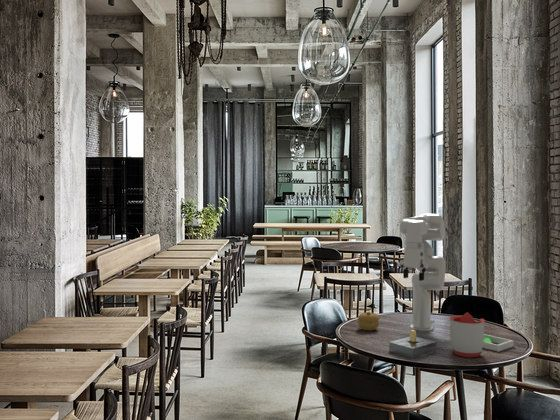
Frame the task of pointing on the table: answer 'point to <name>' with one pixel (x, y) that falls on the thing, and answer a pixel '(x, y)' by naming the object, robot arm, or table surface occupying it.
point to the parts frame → (501, 342)
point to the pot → (368, 321)
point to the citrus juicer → (466, 335)
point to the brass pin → (413, 336)
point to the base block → (412, 347)
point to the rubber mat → (409, 336)
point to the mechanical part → (487, 340)
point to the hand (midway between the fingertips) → (413, 279)
